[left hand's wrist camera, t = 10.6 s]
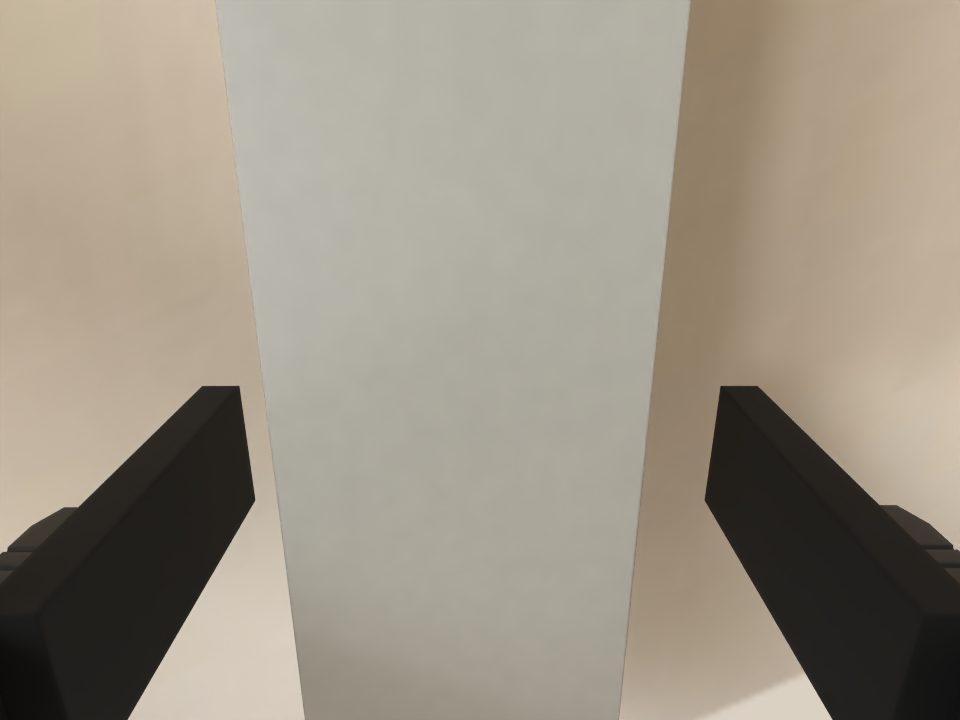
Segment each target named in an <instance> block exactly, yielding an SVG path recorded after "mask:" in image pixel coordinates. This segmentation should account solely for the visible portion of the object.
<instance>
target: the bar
mask: <svg viewBox="0 0 960 720" xmlns="http://www.w3.org/2000/svg"><path fill="white" fill-rule="evenodd" d="M215 3H216V11H217V19H218V27H219V35H220V43H221V51H222V59H223V67H224V75H225V83H226V91H227V99H228V107H229V115H230V123H231V131H232V139H233V147H234V155H235V163H236V171H237V179H238V187H239V195H240V203H241V211H242V219H243V227H244V235H245V243H246V251H247V259H248V267H249V275H250V283H251V291H252V299H253V307H254V315H255V323H256V331H257V339H258V347H259V355H260V363H261V371H262V379H263V387H264V395H265V403H266V411H267V419H268V427H269V435H270V443H271V451H272V459H273V467H274V475H275V483H276V491H277V499H278V507H279V515H280V523H281V531H282V539H283V547H284V555H285V563H286V571H287V579H288V587H289V595H290V603H291V611H292V619H293V627H294V635H295V643H296V651H297V659H298V667H299V675H300V683H301V691H302V699H303V707H304V715H305V720H619V713H620V703H621V693H622V683H623V673H624V663H625V653H626V643H627V633H628V623H629V613H630V603H631V593H632V583H633V573H634V564H635V554H636V544H637V534H638V524H639V514H640V504H641V494H642V484H643V474H644V464H645V454H646V444H647V434H648V424H649V414H650V404H651V394H652V384H653V374H654V364H655V354H656V344H657V334H658V324H659V314H660V304H661V294H662V284H663V274H664V264H665V254H666V244H667V234H668V224H669V214H670V204H671V194H672V184H673V174H674V164H675V154H676V144H677V134H678V124H679V114H680V104H681V94H682V84H683V74H684V64H685V54H686V44H687V34H688V24H689V15H690V5H691V0H215Z"/></svg>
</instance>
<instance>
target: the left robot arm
mask: <svg viewBox="0 0 960 720" xmlns="http://www.w3.org/2000/svg"><path fill="white" fill-rule="evenodd" d="M254 502H255V495H254V487H253V480H252V473H251V466H250V459H249V452H248V445H247V437H246V430H245V423H244V416H243V409H242V402H241V395H240V387H239V386H202V387H201V388H200V389H199V390H198V391H197V392H196V393H195V394H194V395H193V396H192V397H191V398H190V399H189V400H188V401H187V402H186V403H185V404H184V405H183V406H182V407H181V408H180V409H179V410H178V411H176V412H175V413H174V414H173V415H172V416H171V417H170V418H169V419H168V420H167V421H166V422H165V423H164V424H163V425H162V426H161V427H160V428H159V429H158V430H157V431H156V432H155V433H154V434H153V435H152V436H151V437H150V438H149V439H148V440H147V441H146V442H145V443H144V444H143V445H142V446H141V447H140V448H139V449H138V450H137V451H136V452H135V453H134V454H132V455H131V456H130V457H129V458H128V459H127V460H126V461H125V462H124V463H123V464H122V465H121V466H120V467H119V468H118V469H117V470H116V471H115V472H114V473H113V474H112V475H111V476H110V477H109V478H108V479H107V480H106V481H105V482H104V483H103V484H102V485H101V486H100V487H99V488H98V489H97V490H96V491H95V492H94V493H93V494H92V495H91V496H90V497H88V498H87V499H86V500H85V501H84V502H83V503H82V504H81V505H80V506H79V507H64V508H62V509H61V510H59V511H57V512H55V513H53V514H52V515H50V516H48V517H46V518H45V519H43V520H41V521H39V522H38V523H36V524H34V525H32V526H31V527H30V528H29V529H28V530H26V531H25V532H24V533H23V534H22V535H21V536H20V537H19V538H18V539H17V540H16V541H14V542H13V543H12V544H11V545H10V546H9V547H8V550H7V552H2V553H1V554H0V720H128V718H129V716H130V714H131V713H132V711H133V709H134V708H135V706H136V704H137V702H138V701H139V699H140V697H141V696H142V694H143V692H144V690H145V689H146V687H147V685H148V684H149V682H150V680H151V678H152V677H153V675H154V673H155V672H156V670H157V668H158V666H159V665H160V663H161V661H162V660H163V658H164V656H165V654H166V653H167V651H168V649H169V648H170V646H171V644H172V642H173V641H174V639H175V637H176V636H177V634H178V632H179V630H180V629H181V627H182V625H183V624H184V622H185V620H186V618H187V617H188V615H189V613H190V611H191V610H192V608H193V606H194V605H195V603H196V601H197V599H198V598H199V596H200V594H201V593H202V591H203V589H204V587H205V586H206V584H207V582H208V581H209V579H210V577H211V575H212V574H213V572H214V570H215V569H216V567H217V565H218V563H219V562H220V560H221V558H222V557H223V555H224V553H225V551H226V550H227V548H228V546H229V545H230V543H231V541H232V539H233V538H234V536H235V534H236V533H237V531H238V529H239V527H240V526H241V524H242V522H243V521H244V519H245V517H246V515H247V514H248V512H249V510H250V509H251V507H252V505H253V503H254ZM705 502H706V503H707V505H708V507H709V509H710V510H711V512H712V514H713V515H714V517H715V519H716V521H717V522H718V524H719V526H720V527H721V529H722V531H723V533H724V534H725V536H726V538H727V539H728V541H729V543H730V545H731V546H732V548H733V550H734V551H735V553H736V555H737V557H738V558H739V560H740V562H741V563H742V565H743V567H744V569H745V570H746V572H747V574H748V575H749V577H750V579H751V581H752V582H753V584H754V586H755V587H756V589H757V591H758V593H759V594H760V596H761V598H762V599H763V601H764V603H765V605H766V606H767V608H768V610H769V611H770V613H771V615H772V617H773V618H774V620H775V622H776V623H777V625H778V627H779V629H780V630H781V632H782V634H783V635H784V637H785V639H786V641H787V642H788V644H789V646H790V648H791V649H792V651H793V653H794V654H795V656H796V658H797V660H798V661H799V663H800V665H801V666H802V668H803V670H804V672H805V673H806V675H807V677H808V678H809V680H810V682H811V684H812V685H813V687H814V689H815V690H816V692H817V694H818V696H819V697H820V699H821V701H822V702H823V704H824V706H825V708H826V709H827V711H828V713H829V714H830V716H831V718H832V720H960V551H959V550H954V549H953V545H952V544H951V543H950V542H949V541H948V540H947V539H946V538H944V537H943V536H942V535H941V534H940V533H939V532H938V531H937V530H936V529H935V528H933V527H932V526H931V525H930V524H929V523H927V522H925V521H924V520H922V519H920V518H918V517H916V516H915V515H913V514H911V513H909V512H907V511H906V510H904V509H902V508H900V507H899V506H897V505H879V504H878V503H877V502H876V501H875V500H874V499H873V498H872V497H870V496H869V495H868V494H867V493H866V492H865V491H864V490H863V489H862V488H861V487H860V486H859V485H858V484H857V483H856V482H855V481H854V480H853V479H852V478H851V477H850V476H849V475H848V474H847V473H846V472H845V471H844V470H843V469H842V468H841V467H840V466H839V465H838V464H837V463H836V462H835V461H834V460H833V459H832V458H831V457H830V456H829V455H828V454H826V453H825V452H824V451H823V450H822V449H821V448H820V447H819V446H818V445H817V444H816V443H815V442H814V441H813V440H812V439H811V438H810V437H809V436H808V435H807V434H806V433H805V432H804V431H803V430H802V429H801V428H800V427H799V426H798V425H797V424H796V423H795V422H794V421H793V420H792V419H791V418H790V417H789V416H788V415H787V414H786V413H785V412H784V411H782V410H781V409H780V408H779V407H778V406H777V405H776V404H775V403H774V402H773V401H772V400H771V399H770V398H769V397H768V396H767V395H766V394H765V393H764V392H763V391H762V390H761V389H760V388H759V387H758V386H721V387H720V395H719V402H718V409H717V416H716V423H715V430H714V437H713V445H712V452H711V459H710V466H709V473H708V480H707V488H706V495H705Z"/></svg>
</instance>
